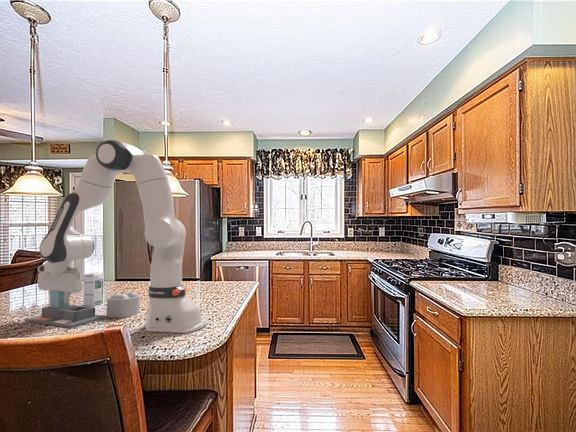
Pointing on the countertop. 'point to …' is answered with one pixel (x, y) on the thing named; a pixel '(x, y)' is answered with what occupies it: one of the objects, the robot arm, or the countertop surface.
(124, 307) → the lumpy-topped squat cylinder
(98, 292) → the syrup box
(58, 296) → the teal upright block
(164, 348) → the countertop surface
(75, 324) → the socket board
